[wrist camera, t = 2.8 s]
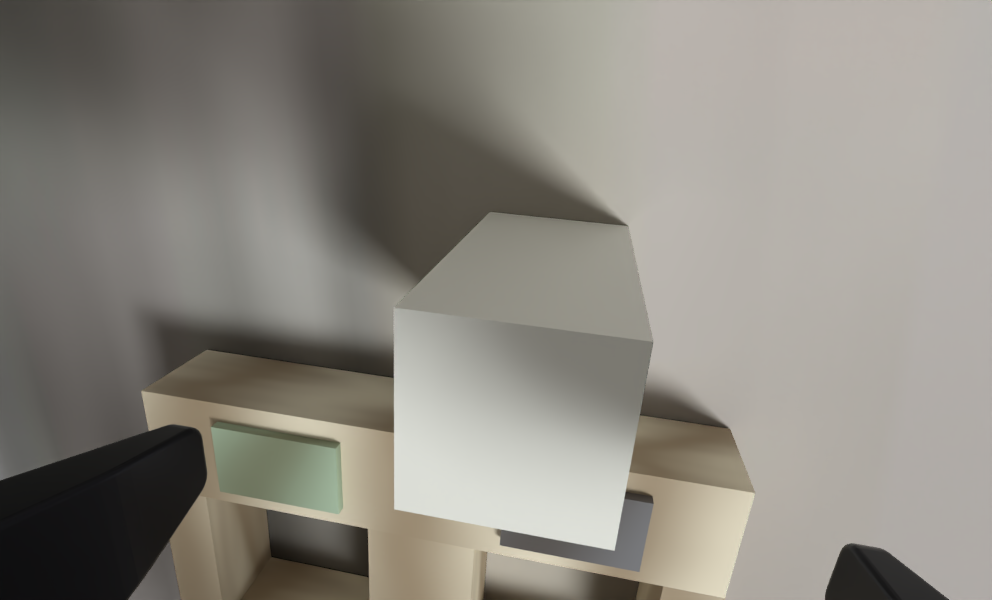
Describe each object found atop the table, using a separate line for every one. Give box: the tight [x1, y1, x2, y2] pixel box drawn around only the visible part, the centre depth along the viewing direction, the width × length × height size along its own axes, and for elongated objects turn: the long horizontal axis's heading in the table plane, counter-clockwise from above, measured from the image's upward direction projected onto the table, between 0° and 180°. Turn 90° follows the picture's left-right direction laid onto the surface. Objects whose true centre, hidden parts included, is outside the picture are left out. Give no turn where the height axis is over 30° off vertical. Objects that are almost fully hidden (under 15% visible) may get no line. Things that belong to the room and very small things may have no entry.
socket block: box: [141, 350, 755, 600], centre depth 19 cm, size 18×13×3 cm
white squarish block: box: [394, 212, 653, 551], centre depth 13 cm, size 4×4×8 cm
